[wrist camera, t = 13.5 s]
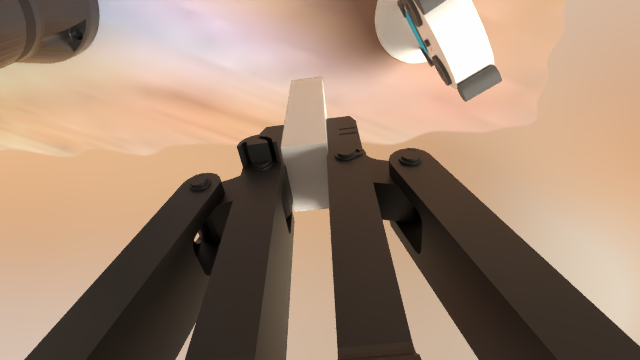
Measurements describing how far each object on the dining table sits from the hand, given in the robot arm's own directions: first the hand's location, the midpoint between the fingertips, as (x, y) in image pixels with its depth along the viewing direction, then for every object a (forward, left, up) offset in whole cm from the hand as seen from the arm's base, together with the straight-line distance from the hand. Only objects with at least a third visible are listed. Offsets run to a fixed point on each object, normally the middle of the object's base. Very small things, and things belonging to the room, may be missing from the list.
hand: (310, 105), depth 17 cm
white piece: (+13, -2, -30) cm, 32 cm away
